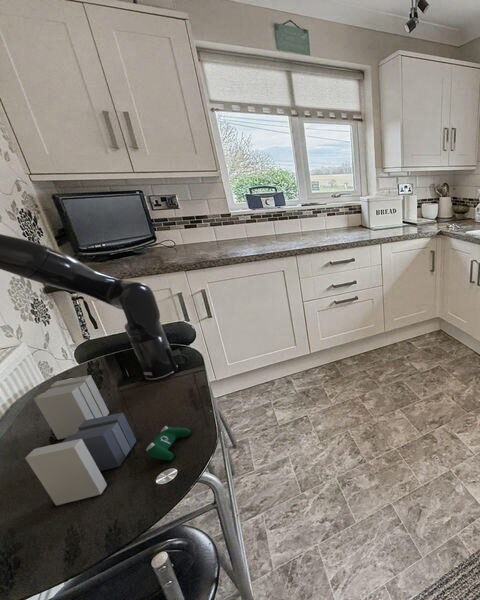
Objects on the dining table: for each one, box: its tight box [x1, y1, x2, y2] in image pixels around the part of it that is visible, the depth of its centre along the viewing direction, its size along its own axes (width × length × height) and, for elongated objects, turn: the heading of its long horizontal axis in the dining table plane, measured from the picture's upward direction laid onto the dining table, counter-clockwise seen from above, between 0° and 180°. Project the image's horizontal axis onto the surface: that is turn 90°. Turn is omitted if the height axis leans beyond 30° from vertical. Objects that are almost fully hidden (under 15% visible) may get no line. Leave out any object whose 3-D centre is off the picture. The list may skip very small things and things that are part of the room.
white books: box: [33, 374, 110, 440], centre depth 88 cm, size 8×8×13 cm
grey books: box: [61, 412, 137, 472], centre depth 77 cm, size 8×8×9 cm
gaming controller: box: [145, 425, 191, 461], centre depth 79 cm, size 9×4×6 cm
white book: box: [24, 439, 108, 506], centre depth 67 cm, size 2×8×13 cm, turn 105°
